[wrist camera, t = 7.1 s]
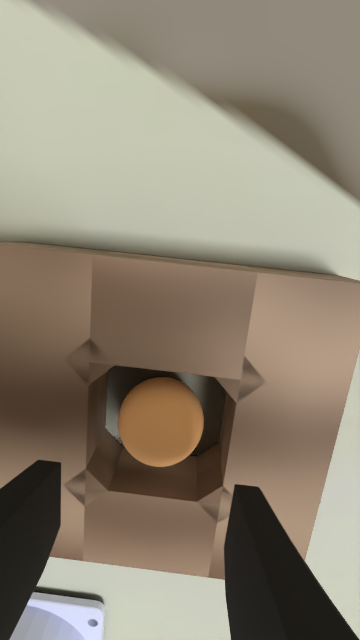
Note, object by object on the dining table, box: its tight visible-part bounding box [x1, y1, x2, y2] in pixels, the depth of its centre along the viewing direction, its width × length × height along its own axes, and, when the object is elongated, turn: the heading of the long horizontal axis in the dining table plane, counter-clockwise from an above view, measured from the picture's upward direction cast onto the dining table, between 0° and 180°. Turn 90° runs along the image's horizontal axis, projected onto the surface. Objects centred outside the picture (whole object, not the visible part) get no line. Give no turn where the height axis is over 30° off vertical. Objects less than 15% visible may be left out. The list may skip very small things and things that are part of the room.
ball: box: [118, 377, 204, 467], centre depth 12 cm, size 3×3×3 cm
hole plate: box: [0, 242, 360, 580], centre depth 12 cm, size 12×12×2 cm
